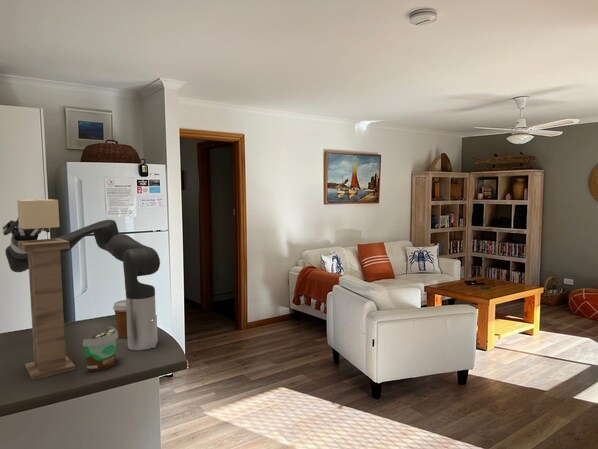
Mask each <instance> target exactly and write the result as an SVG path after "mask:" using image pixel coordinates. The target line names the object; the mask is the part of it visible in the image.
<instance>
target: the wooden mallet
mask: <svg viewBox="0 0 598 449" xmlns="http://www.w3.org/2000/svg"><path fill="white" fill-rule="evenodd" d="M16 202H17V218H18V221H19V227H20V228H23V229H35V228H49V229H51V228H60V214H59V213H60V211H59V210H60V209H59V200H58V199H37V198H36V199H34V198H33V199H17V200H16Z"/></svg>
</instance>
